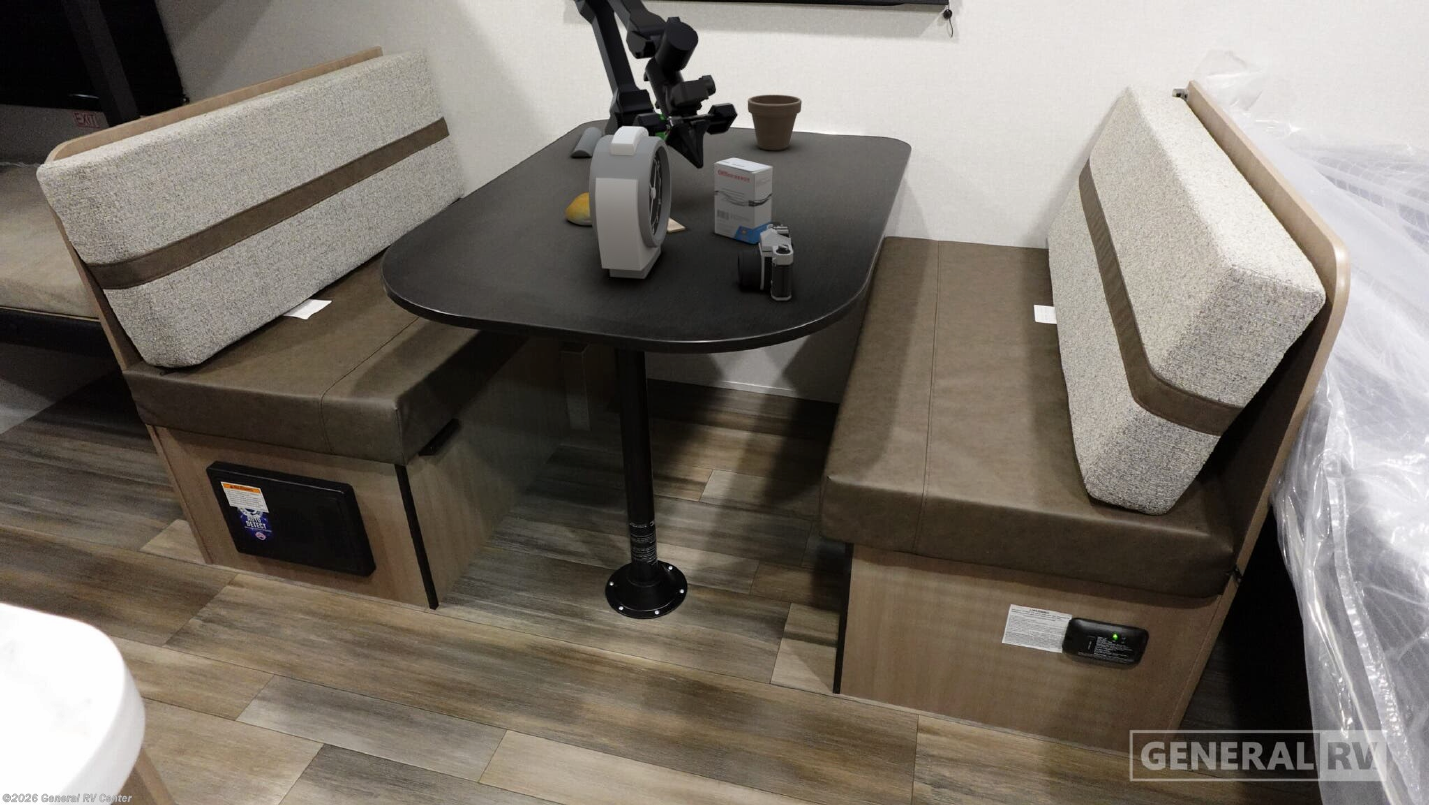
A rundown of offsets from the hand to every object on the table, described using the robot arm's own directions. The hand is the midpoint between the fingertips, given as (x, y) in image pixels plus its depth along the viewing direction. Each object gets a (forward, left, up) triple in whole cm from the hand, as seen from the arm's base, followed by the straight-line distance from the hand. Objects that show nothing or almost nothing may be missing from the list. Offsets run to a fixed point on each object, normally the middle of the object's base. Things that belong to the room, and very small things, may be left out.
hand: (700, 167), depth 150 cm
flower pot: (-13, +44, -8) cm, 47 cm away
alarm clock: (+6, -25, -8) cm, 27 cm away
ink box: (+12, -5, -8) cm, 16 cm away
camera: (+26, -20, -8) cm, 34 cm away
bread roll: (-14, -13, -8) cm, 21 cm away
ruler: (-5, -7, -8) cm, 11 cm away
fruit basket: (-37, +31, -8) cm, 49 cm away
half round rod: (-47, +21, -8) cm, 52 cm away
